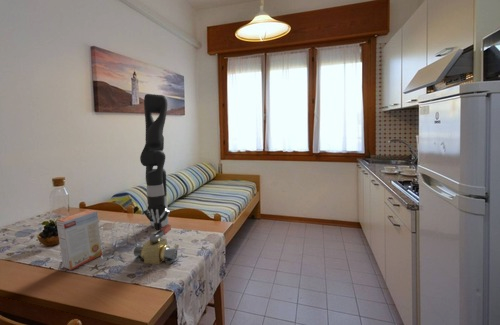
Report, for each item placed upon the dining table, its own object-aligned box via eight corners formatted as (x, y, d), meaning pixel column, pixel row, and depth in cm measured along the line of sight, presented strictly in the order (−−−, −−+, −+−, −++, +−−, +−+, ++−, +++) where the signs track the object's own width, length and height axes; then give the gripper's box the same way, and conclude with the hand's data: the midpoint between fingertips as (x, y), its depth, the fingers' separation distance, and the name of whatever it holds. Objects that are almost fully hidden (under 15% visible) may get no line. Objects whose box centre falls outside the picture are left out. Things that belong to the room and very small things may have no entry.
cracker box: (94, 252, 122) (89, 209, 119) (102, 255, 119) (98, 210, 116) (61, 267, 109) (55, 219, 106) (70, 270, 107) (64, 221, 104)
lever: (156, 243, 111) (156, 237, 111) (148, 242, 112) (147, 237, 111) (172, 229, 125) (172, 224, 125) (164, 229, 126) (164, 224, 125)
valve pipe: (132, 262, 113) (130, 243, 112) (142, 254, 120) (140, 236, 118) (171, 265, 110) (170, 246, 108) (179, 256, 116) (178, 239, 115)
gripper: (137, 195, 118) (140, 232, 121) (165, 196, 116) (167, 233, 118) (147, 191, 126) (149, 226, 128) (172, 192, 123) (175, 227, 126)
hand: (158, 229), depth 123 cm, fingers closed
